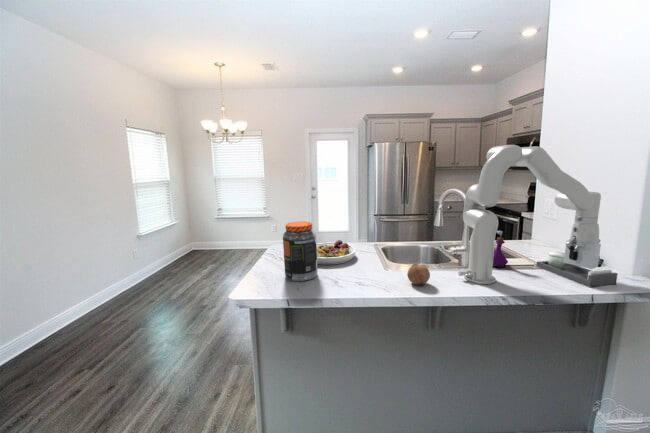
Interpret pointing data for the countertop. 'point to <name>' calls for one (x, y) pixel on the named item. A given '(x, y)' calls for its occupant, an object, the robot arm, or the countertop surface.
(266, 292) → the countertop surface
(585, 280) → the grey shallow rectangular tray
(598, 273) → the pusher
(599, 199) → the robot arm
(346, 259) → the bowl
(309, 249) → the supplement tub
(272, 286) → the countertop surface
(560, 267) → the cream jar
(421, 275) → the onion
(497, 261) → the perfume bottle
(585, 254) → the skincare box
